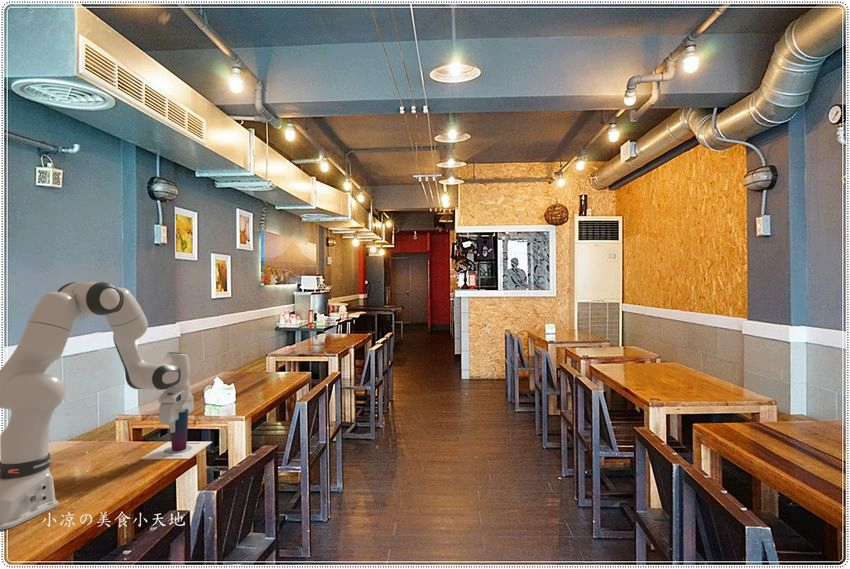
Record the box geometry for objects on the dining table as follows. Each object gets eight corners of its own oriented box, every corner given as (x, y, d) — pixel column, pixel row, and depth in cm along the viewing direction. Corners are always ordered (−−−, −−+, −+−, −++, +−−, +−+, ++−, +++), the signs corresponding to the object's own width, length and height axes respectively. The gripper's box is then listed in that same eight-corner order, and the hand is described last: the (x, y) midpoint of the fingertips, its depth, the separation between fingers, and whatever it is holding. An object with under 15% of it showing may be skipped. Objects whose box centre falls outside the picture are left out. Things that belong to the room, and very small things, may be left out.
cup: (169, 448, 201) (168, 409, 201) (188, 445, 204) (188, 407, 204) (169, 453, 195) (169, 413, 195) (189, 450, 198) (189, 411, 198)
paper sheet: (189, 459, 190) (189, 458, 190) (140, 459, 190) (140, 458, 190) (212, 442, 210) (212, 441, 210) (168, 442, 210) (168, 441, 210)
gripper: (182, 388, 210) (182, 422, 210) (155, 399, 190) (156, 437, 190) (197, 388, 210) (198, 422, 210) (172, 399, 190) (173, 437, 190)
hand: (178, 429), depth 200 cm, fingers open, 6 cm apart
